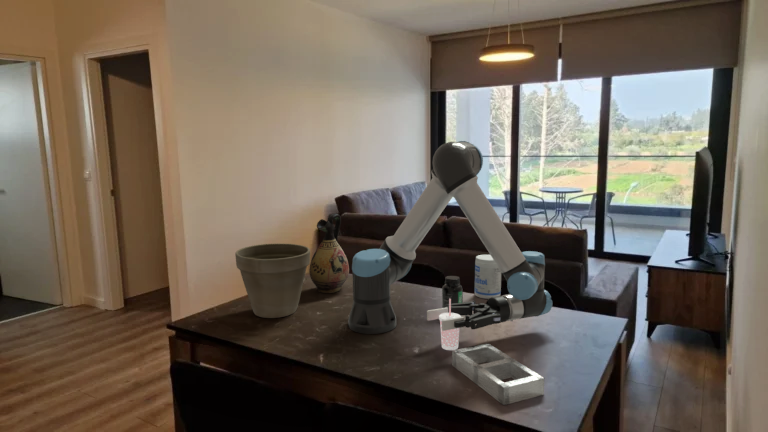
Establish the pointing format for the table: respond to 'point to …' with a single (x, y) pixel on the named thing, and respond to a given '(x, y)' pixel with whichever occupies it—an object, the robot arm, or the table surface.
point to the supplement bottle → (452, 291)
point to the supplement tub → (487, 277)
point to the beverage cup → (449, 331)
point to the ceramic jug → (329, 259)
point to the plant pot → (273, 277)
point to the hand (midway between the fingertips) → (434, 320)
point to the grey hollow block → (498, 373)
